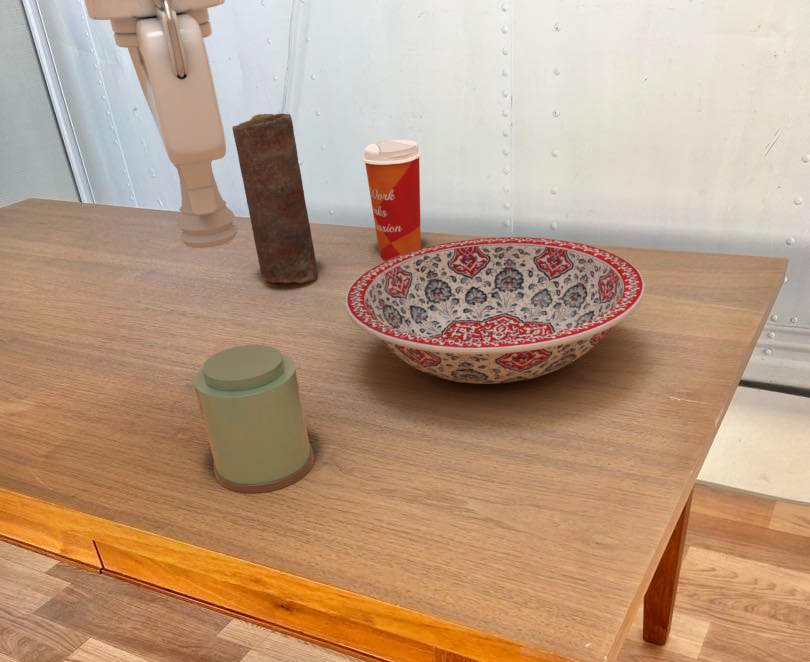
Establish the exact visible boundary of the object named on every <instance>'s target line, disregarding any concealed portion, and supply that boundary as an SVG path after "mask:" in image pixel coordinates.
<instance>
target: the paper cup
mask: <svg viewBox="0 0 810 662" xmlns="http://www.w3.org/2000/svg"><path fill="white" fill-rule="evenodd" d="M363 154H364V155H363V156H362V159H361V160H362V162H363V163H364V164H365V172H366V177H367V183H368V189H369V196H370V203H371V208H372V215H373V222H374V228H375V233H376V240H377V245H378V251H379V255H380V258H381V260H383V261H387V260H389V259H392V258H394V257H397V256H399V255H402V254H405V253H408V252H411V251H415V250H418V249H422V248H421V244H422V240H421V239H422V237H421V178H420V172H421V171H420V157H422V154H423V153H422V152H421V150H420V149H419V144H418V143H417V142H416V141H414V140H411V139H389V140H388V141H387V140H383V141H378V142H377V143H375V142H374V143H370V144H368V145H366V146H365V147H364V153H363Z"/></svg>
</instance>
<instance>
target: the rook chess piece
mask: <svg viewBox="0 0 810 662" xmlns="http://www.w3.org/2000/svg"><path fill="white" fill-rule="evenodd" d="M212 162H213V160H212V161H211V163H212ZM173 166H174V167H175V169H176V170H177V174H178V179H179V184H180V186H179V187H180V195H181V196H180V197H181V204H180V205H181V206H180V208H179V211H180V214H179V217H178V218H177V221H176V225H177V227H178V229H180V230H181V234H180V235H179V237H178V238H179V240H180V241H181V242H182V243H183V244H185V246H187V247H189V248H191V249H192V248H193V249H207V248H215V247H219V246H223V245H226V244H228V243H231V242H232V241H233V240H235V238H236V235H237V234H238V231H239V228H238V226H236V225H235V224H233V223H234V221H235V218H236V216H235V213H234V211H233V210H231V209H230V208H229V207H228V206H227V201H225V200H224V199H223V196H222V195H221V193H220V190H219V187H218V185H217V182H216V179H215V176H214V171H213V170H212V180H213V189H214V194H215V199H216V204H217V209H216V210H215V212H213V213H208V214H202V215H196V214H194V213H193V211H192V209H191V207H190V203H189V198H188V194H187V190H186V186H185V182H184V179H183V176H182V172H181V169H180V166H179V165H174V164H173Z"/></svg>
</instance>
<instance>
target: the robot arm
mask: <svg viewBox="0 0 810 662" xmlns="http://www.w3.org/2000/svg"><path fill="white" fill-rule="evenodd" d="M224 3H226V0H84V4H85V8H86V11H87V15H88V17H89V18H90V19H91V20H98V21H110V25H111V28H112V29H111V30H112V32H113V38H114V42H115V45H116V46H117V47H119V48H127V50H128V53H129V56H130V59H131V61H132V64H133V67H134V70H135V73H136V76H137V79H138V82H139V85H140V88H141V90H142V93H143V95H144V99H145V101H146V104H147V106H148V108H149V110H150V113H151V115H152V118H153V121H154V123H155V125H156V128H157V131H158V134H159V136H160V139H161V142H162V145H163V147H164V149H165V152H166V154H167V157H168V159H169V161H170V163H171V164H172V165H173V166H174V165H179V166H180V169H181V172H182V176H183V179H184V182H185V186H186V190H187V194H188V198H189V203H190V207H191V209H192V211H193V213H194V214H196V215H202V214H208V213H213V212H215V210H216V209H217V204H216V199H215V194H214V189H213V180H212V171H213V167H212V162H213V161H216V160H222V159H223V158H224V157H225V156H226V154H227V142H226V135H225V130H224V124H223V119H222V114H221V109H220V105H219V101H218V96H217V91H216V85H215V82H214V77H213V73H212V68H211V64H210V59H209V54H208V50H207V47H206V43H205V38H208V37H210V36H211V35H212V34H213V30H212V26H211V25H212V24H211V22H210V15H209V10H208V9H210V8H215V7H218V6H221V5H223V4H224ZM211 161H212V162H211Z"/></svg>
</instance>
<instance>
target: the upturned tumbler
mask: <svg viewBox="0 0 810 662" xmlns="http://www.w3.org/2000/svg"><path fill="white" fill-rule="evenodd" d="M193 379H194V380H193V385H194V389H195V394H196V397H197V401H198V404H199V408H200V414H201V417H202V420H203V424H204V428H205V432H206V435H207V440H208V443H209V444H208V445H209V447H210V452H211V455H212V459H213V467H212V468H213V471H214V476H215V479H216V481H217V483H219V484H220V485H221V486H222V487H224V488H225V489H228V490H230V491H233V492H237V493H244V494H261V493H269V492H273V491H277V490H281V489H284V488H286V487H288V486H291V485H293V484H295V483H296V482H298V481H300V480H301V479H303V478H304V477H305V476H306V475H307V474H308V473H309V472H310V471H311V469H312V468H313V465H314V462H315V456H314V449H313V447H312V445H311V444H310V441H309V440H310V439H309V435H308V434H309V433H308V428H307V422H306V416H305V412H304V406H303V405H304V404H303V400H302V394H301V389H300V382H299V377H298V372H297V366H296V363H295V361H294V360H293V359H292V358H291V357H289V356H288V355H287V354H283V353H282V351H280V350H279V349H278V348H276V347H273V346H270V345H265V344H245V345H244V344H243V345H237V346H233V347H230V348H226V349H223V350H220V351H219V352H216V353H215V354H212V355H211V356H209V357H208V358H207V359H206V360H204V362H203V364H202V366H201V369H199V370H198V371H197V373H196V374H195V376H194V378H193Z"/></svg>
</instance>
